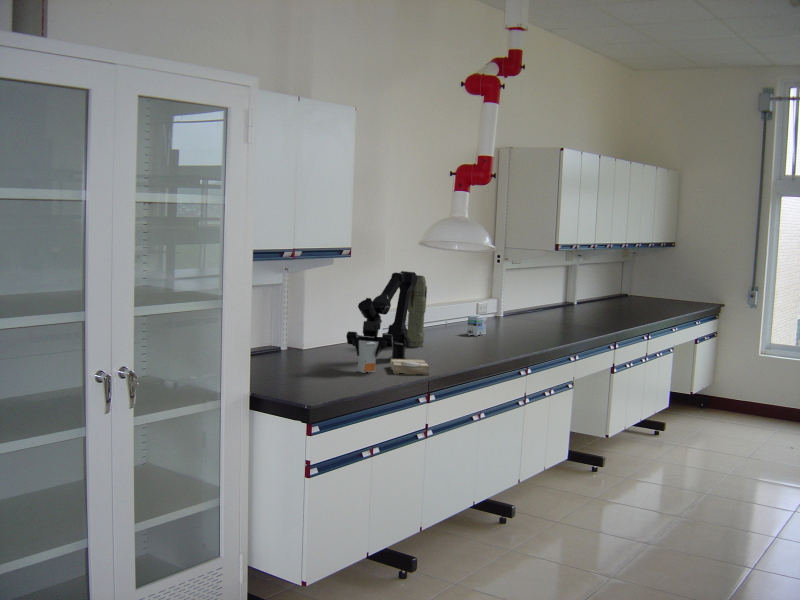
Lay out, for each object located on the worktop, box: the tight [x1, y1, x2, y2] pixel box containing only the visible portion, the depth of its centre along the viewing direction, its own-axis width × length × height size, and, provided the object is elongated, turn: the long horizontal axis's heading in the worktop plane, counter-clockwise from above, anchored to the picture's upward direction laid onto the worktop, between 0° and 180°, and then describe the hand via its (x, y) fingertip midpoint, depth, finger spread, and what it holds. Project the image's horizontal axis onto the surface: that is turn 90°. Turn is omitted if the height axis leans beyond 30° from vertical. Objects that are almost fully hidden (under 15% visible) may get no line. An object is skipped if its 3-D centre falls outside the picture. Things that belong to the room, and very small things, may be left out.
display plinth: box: [389, 358, 430, 376], centre depth 308 cm, size 15×14×4 cm
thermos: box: [407, 274, 428, 348], centre depth 367 cm, size 9×12×35 cm
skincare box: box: [357, 341, 378, 374], centre depth 301 cm, size 6×4×12 cm
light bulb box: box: [466, 314, 488, 335], centre depth 417 cm, size 11×7×11 cm, turn 147°
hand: (366, 356), depth 300 cm, fingers closed on skincare box, 7 cm apart
